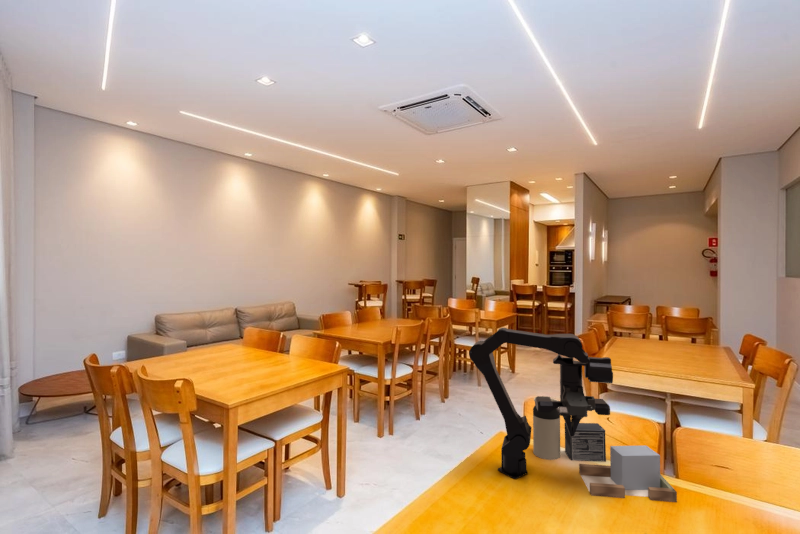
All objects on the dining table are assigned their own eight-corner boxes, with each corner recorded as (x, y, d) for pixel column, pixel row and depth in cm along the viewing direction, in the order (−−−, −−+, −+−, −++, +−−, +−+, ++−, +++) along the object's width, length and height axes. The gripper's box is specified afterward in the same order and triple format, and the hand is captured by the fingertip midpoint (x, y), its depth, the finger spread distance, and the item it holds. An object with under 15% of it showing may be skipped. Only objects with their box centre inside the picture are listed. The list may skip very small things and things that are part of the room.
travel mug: (557, 465, 125) (556, 405, 125) (530, 458, 129) (529, 401, 129) (562, 455, 132) (562, 398, 132) (537, 449, 136) (536, 394, 136)
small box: (598, 455, 131) (598, 422, 131) (606, 465, 125) (606, 430, 125) (564, 454, 132) (563, 421, 132) (570, 463, 126) (570, 429, 126)
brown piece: (597, 510, 102) (597, 496, 102) (574, 467, 123) (574, 455, 123) (687, 518, 98) (687, 503, 98) (647, 472, 120) (647, 460, 120)
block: (622, 490, 109) (622, 455, 109) (610, 478, 115) (610, 446, 115) (660, 489, 109) (659, 455, 109) (646, 477, 115) (646, 445, 115)
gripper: (541, 387, 109) (541, 446, 109) (617, 390, 106) (617, 451, 106) (534, 376, 120) (535, 429, 120) (603, 378, 117) (603, 433, 117)
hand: (571, 436), depth 116 cm, fingers closed
